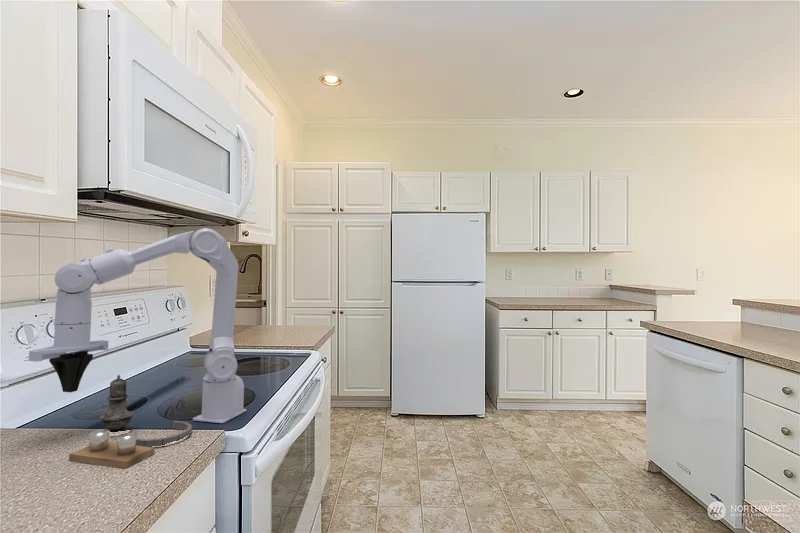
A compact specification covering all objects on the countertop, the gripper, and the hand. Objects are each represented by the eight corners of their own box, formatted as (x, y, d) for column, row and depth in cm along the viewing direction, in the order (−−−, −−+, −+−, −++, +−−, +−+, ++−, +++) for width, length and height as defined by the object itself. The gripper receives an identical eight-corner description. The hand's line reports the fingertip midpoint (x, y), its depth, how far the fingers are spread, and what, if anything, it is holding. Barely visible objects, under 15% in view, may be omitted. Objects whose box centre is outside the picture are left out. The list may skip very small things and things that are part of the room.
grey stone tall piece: (115, 439, 82) (118, 378, 82) (91, 436, 83) (94, 376, 83) (139, 429, 88) (142, 372, 88) (116, 426, 89) (119, 371, 89)
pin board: (100, 447, 78) (101, 425, 78) (154, 454, 75) (155, 431, 75) (68, 460, 72) (70, 436, 72) (125, 468, 69) (126, 443, 69)
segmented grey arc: (175, 427, 89) (175, 420, 89) (202, 430, 87) (202, 423, 87) (132, 447, 78) (132, 439, 78) (162, 451, 76) (163, 443, 76)
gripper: (91, 319, 91) (88, 381, 90) (17, 326, 76) (13, 399, 76) (117, 320, 89) (114, 383, 89) (47, 327, 75) (43, 402, 74)
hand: (70, 391), depth 82 cm, fingers closed
